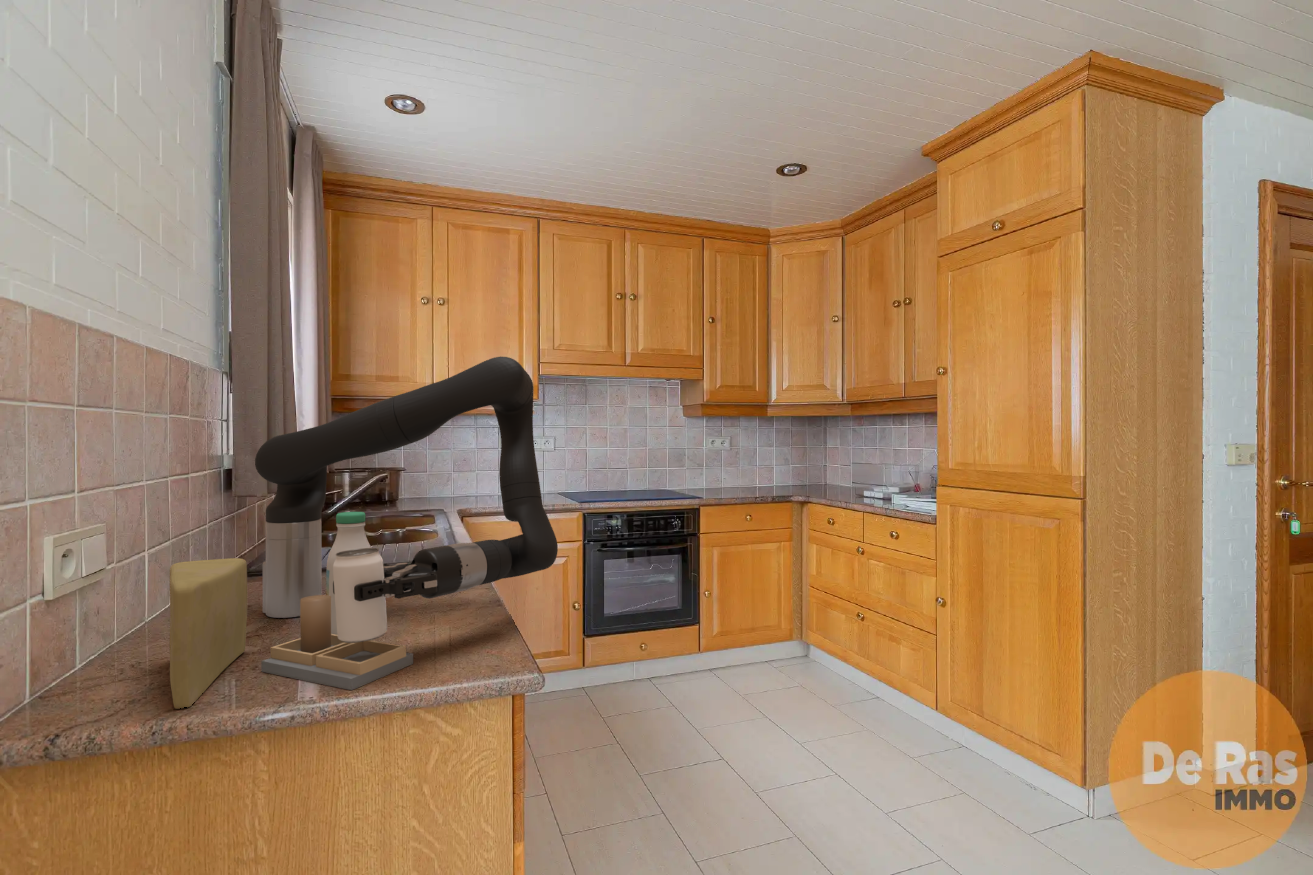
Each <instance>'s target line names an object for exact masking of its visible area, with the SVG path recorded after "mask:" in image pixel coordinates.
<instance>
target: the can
mask: <svg viewBox="0 0 1313 875" xmlns="http://www.w3.org/2000/svg"><path fill="white" fill-rule="evenodd" d="M379 550H380V549H379V548H378V547H371V548H361V549H352V550H347V551H342V552H338V553H336V560H335V562H334V565H333V576H334V592H335V607H336V622H337V635H338V639H339V640H340V641H341V642H345V643H357V642H364V641H369V640H372V641H374V640H375V639H379V638H381V637H383V636H384V635H386V633H387V631H388V618H387V617H388V616H387V602H386V601H387V600H386V599H387V598H386V597H383V596H382V597H377V598H373V599H368V600H364V601H356V600H355V599H354V587H355V586H356V585H357V584H362V583H367V582H373V581H377V580H382V583H383V579H384V568H383V564H384V560H383V558H382V556H381V553H380V552H379Z"/></svg>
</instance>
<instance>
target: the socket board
mask: <svg viewBox="0 0 1313 875" xmlns="http://www.w3.org/2000/svg"><path fill="white" fill-rule="evenodd" d="M299 617H300V619H299V620H300V626H299V627H300V628H299V629H300V632H299V633H300V636H299V638H297V639H294V640H290V641H287V642H286V641H285V642H284V643H281V644H277V645H274V646H271V647H270V657H269V658H267V659H262V660H261V661H260V662H261V665H260V666H261V669H260V670H261V672H262V673H266V674H267V673H268V674H271V675H276V676H281V677H285V678H290V679H296V680H300V681H304V682H310V683H314V684H320V685H324V686H329V687H333V688H339V689H343V690H349V691H353V690H356V689H358V688H360V687H362V686H365V685H367V684H369V683H372V682H374V681H376V680H379V679H381V678H383V677H386V676H388V675H390V674H392V673H396V672H397V671H400V670H402V669H404V668H406V667H409V666H411V665H413V664H414V653H413V652H407V646H406V645H402V644H395V643H389V642H383V641H377V640H369V641H364V642H357V643H345V642H341V641H340V640H339V639H338V635H336V634H331V596H329V595H326V594H322V595H314V596H308V597H304V598H302V599H300V616H299Z"/></svg>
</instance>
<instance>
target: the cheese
mask: <svg viewBox="0 0 1313 875" xmlns="http://www.w3.org/2000/svg"><path fill="white" fill-rule="evenodd" d="M247 564H248V563H247V561H246V560H245V559H243V558H239V557H238V558H237V557H235V558H234V557H233V558H230V557H229V558H215V559H203V560H190V561H180V562H176V563H173V564H171V565H170V567H169V620H170V621H169V682H170V688H171V689H170V690H171V696H172V704H173V708H174V709H175V710H179V709H180V708H181V709H185V708H184V707H187V708H190V707H192V706H193V705H192V704H193V703H194V702H195V703H196V701H197V700H199V698H200V697H201V696H202V695H203V694H204V692H205V691H206V690H207V689H208V688H209V687H210V686H211V685H212V684H213V682H214V681H215V680H216V679H217V678H218V677H219V675H221V673H222V672H223V671H225V670H226V668H227V667H228V666H229V665H230V664H232V663H233V662H234V661H235V660H236V659H237V658H239V657H240V656H241V655H242V654H243V653H244V652H245V651H246V643H247V642H246V638H247V623H248V622H247V621H248V620H247V619H248V618H247V617H248V570H247V569H248V565H247ZM202 693H203V694H202ZM195 703H194V704H195Z"/></svg>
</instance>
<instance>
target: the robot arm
mask: <svg viewBox="0 0 1313 875" xmlns="http://www.w3.org/2000/svg"><path fill="white" fill-rule="evenodd" d="M488 406H491V407H492V409H493V411H494V413H495V416H496V420H497V424H498V428H499V433H500V446H501V447H500V458H499V459H500V460H499V470H498V472H499V475H498V476H499V488H500V496H501V497H500V498H501V502H502V511H503V515H504V517H505V519H506V520H507V521H509V522H515V523H518V524H519V527H520V529H521V532H522V534H518V535H516V536H512V537H507V538H504V539H500V540H499V539H485V540H484V539H483V540H478V541H474V542H459V543H458V542H457V543H453V544H448V545H440V546H435V547H430V548H423V549H420V550H418V551H417V552H416V553H415V555H414V557H413V559H412V561H411V562H410V564H408V562H399V563H398V562H397V563H395V565H390V563H383V568H384V579H383V583H382V580H377V581H373V582H367V583H362V584H357V585H356V586H355V587H354V599H355V600H356V601H364V600H368V599H373V598H377V597H382V596H383V597H385V598H386V599H388V598H391V597H393V596H394V598H395V599H402V598H408V597H409V598H410V597H413V596H420V597H422V598H423V599H430V600H431V599H434V598H437V597H442V596H443V597H444V596H447V595H451V594H455V593H458V592H459V593H460V592H463V591H467V590H470V589H472V588H475V587H478V586H482V585H485V584H490V583H494V582H497V581H499V580H501V579H509V578H516V577H521V576H524V575H528V574H532V573H537V572H540V571H543V570H547V569H549V568H550V567H552V566H553V565H554V563H555V562H556V559H557V557H558V549H559V548H558V541H557V537H556V534H555V531H554V529H553V527H552V524H551V522H550V519H549V517H548V515H547V512H546V511H545V508H544V506H543V500H542V498H543V497H542V490H541V484H540V477H539V471H538V463H537V457H536V451H535V450H536V449H535V442H534V441H535V440H534V417H533V416H534V383H533V379H532V378H531V376H530V374H529V372H527V370H525V368H524V367H523V366H522V365H521V364H520V362H518V361H517V360H515V359H514V358H512V357H508V356H495V357H491V358H489V359H487V360H484V361H481V362H479V363H477V364H476V365H473V366H471V367H469V368H468V369H464V371H461V372H458V373H457V374H454V375H452V376H450V377H447V378H445V379H442V380H440V381H436V382H433V383H430V384H427V385H424V386H421V387H419V388H416V389H413V390H410V391H408V392H407V391H406V392H403V393H400V394H398V395H394V396H391V397H388V398H385V399H383V400H380V401H378V402H375V403H372V404H369V405H368V406H365V407H362V408H359V409H357V410H355V411H352V412H349V413H348V414H346V415H343V416H341V417H338V418H336V419H334V420H331V421H328V422H326V423H323V424H321V425H317V426H314V427H310V428H306V429H302V430H298V431H294V432H290V433H284V434H280V435H276V436H273V437H271V438H269V439H268V440H266V441H265V442H264V443H263V444H262V445H260V447H259V448H258V451H256V452H257V453H256V455H255V458H254V466H255V469H256V471H257V473H258V474H259V475H260V477H261V478H262V479H264V480H266V481H267V482H270V483H272V484H276V492H275V496H274V498H273V500H272V501H271V502H270V503H269V504H268V505H267V506H266V508H265V561H263V562H262V614H265V615H266V617H269V618H275V619H276V618H278V619H280V618H283V619H286V618H297V617H300V599H302V598H304V597H308V596H314V595H323V594H322V593H323V592H322V585H323V584H322V583H323V580H322V579H323V578H322V572H323V571H322V565H323V564H322V559H323V558H322V511H323V508H324V506H325V502H326V497H327V480H328V478H327V475H328V472H327V471H328V466H330V465H333V464H336V463H339V462H343V461H347V460H351V459H357V458H362V457H368V456H373V455H377V454H378V455H379V454H382V453H385V452H390V451H392V450H396V449H399V448H401V447H404V446H408V445H411V444H413V443H417V442H419V441H421V440H424V439H426V438H428V437H429V436H431V435H432V434H433V433H435V432H436V431H437V430H439V429H440V428H441V427H442V426H443V425H445V424H446V423H447V422H449V421H451V420H452V419H453V418H455V417H457V416H459V415H461V414H464V413H468V412H471V411H474V410H478V409H480V408H485V407H488ZM333 593H334V594H335V592H334V581H333Z"/></svg>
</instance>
